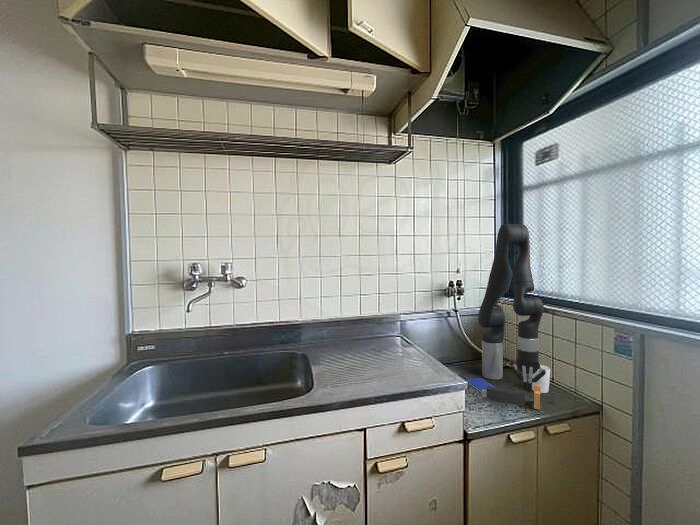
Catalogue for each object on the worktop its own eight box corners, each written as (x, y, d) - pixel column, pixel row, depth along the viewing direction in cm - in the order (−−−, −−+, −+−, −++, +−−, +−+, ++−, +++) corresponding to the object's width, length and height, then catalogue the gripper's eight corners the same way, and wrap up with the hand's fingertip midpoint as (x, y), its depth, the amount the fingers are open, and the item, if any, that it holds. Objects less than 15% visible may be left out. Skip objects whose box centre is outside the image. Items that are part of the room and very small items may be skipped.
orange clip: (534, 401, 134) (534, 381, 134) (540, 402, 133) (540, 382, 133) (534, 408, 129) (534, 387, 128) (540, 409, 128) (540, 388, 127)
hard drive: (498, 388, 145) (480, 377, 157) (481, 390, 143) (465, 379, 155) (498, 391, 145) (480, 380, 157) (481, 394, 144) (465, 382, 156)
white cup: (553, 391, 144) (554, 368, 143) (543, 395, 140) (544, 372, 139) (535, 384, 151) (535, 363, 150) (525, 389, 146) (525, 366, 146)
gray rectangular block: (482, 394, 142) (482, 385, 142) (524, 402, 134) (524, 392, 134) (481, 397, 140) (481, 387, 140) (524, 405, 132) (524, 395, 131)
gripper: (547, 347, 131) (546, 390, 132) (510, 343, 138) (510, 384, 139) (547, 353, 125) (547, 398, 126) (508, 348, 131) (508, 391, 132)
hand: (527, 390), depth 132 cm, fingers closed
